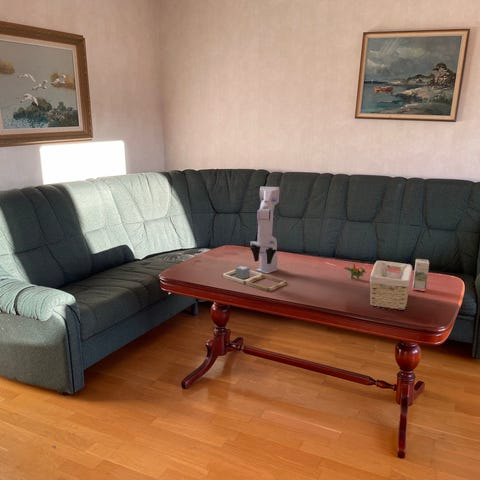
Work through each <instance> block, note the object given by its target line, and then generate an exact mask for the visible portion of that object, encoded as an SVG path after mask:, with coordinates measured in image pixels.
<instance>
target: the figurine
mask: <svg viewBox="0 0 480 480" xmlns="http://www.w3.org/2000/svg"><path fill="white" fill-rule="evenodd" d="M352 265H353V267H349V266H347V267H346V266H345V267H343V269H345V270H347V271H349V272H350V274H351V275H350V279H351V280H352V279H353V280H354V276H355V277H356V280H357V281H358V280H359V279H360V277H363V276H365V274H367V272H366V270H365V268H363V267H362V266H361V267H359V268H358V267H357V268H356V264H355V263H353V264H352Z"/></svg>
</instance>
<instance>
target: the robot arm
mask: <svg viewBox="0 0 480 480" xmlns="http://www.w3.org/2000/svg"><path fill="white" fill-rule="evenodd" d="M259 199H260V205H259V209H257V213H256V214H257V215H256V219H257V241H255V240H254V241H251V240H250V242H249V243H250V244H249V245H250V247H249V248H250V251H251V253H252V255H253V259H254V262H259V268H256V269H255V270H256V272H260V273H261V272H262V273H265V274H271V273H273V272H275V271H278V270H279V268H278V259H279V257H278V256H277V251H278V250H277V249H278V242H277V241H278V240H277V238H276V237H274V236H273V223H274V209H275V207H276V206H275V205H277V204H279V201H280V200H279V199H280V187H279V186H262V185H261V186H260V188H259Z"/></svg>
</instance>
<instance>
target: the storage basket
mask: <svg viewBox="0 0 480 480" xmlns="http://www.w3.org/2000/svg"><path fill="white" fill-rule="evenodd" d="M389 268H390V269H396V270H397V269H399V270H400V271H399V272H393V271H388V269H389ZM412 272H413V265H411V264H410V263H408V264H407V263H403V262H402V263H401V262H395V261H394V262H393V261H385V260H376V261H375V263H374V265H373V268H372V270H371V273H370V280H369V284H370V294H369V295H370V306H371V305H374V306H382V307H390V308H396V309H397V308H401V309H406V308H405V307H407V304H408V297H409V287H410V284H411V279H412Z"/></svg>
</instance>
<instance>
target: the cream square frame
mask: <svg viewBox="0 0 480 480" xmlns="http://www.w3.org/2000/svg"><path fill="white" fill-rule="evenodd" d="M235 272H236V269H234V270H230V271H227V272H224V273H221V278H224V279H227V280H230V281H233V282H237V283H239V284H243V285H245V281H247V280H249V279H252V278H255V277H257V276H260V275H262V274H263V273H261V272H259V271H254V270H250V272H249V275H253V276H251V277H248V278H245V279H240V278H237V277H234V276H231V275H234V274H235Z"/></svg>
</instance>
